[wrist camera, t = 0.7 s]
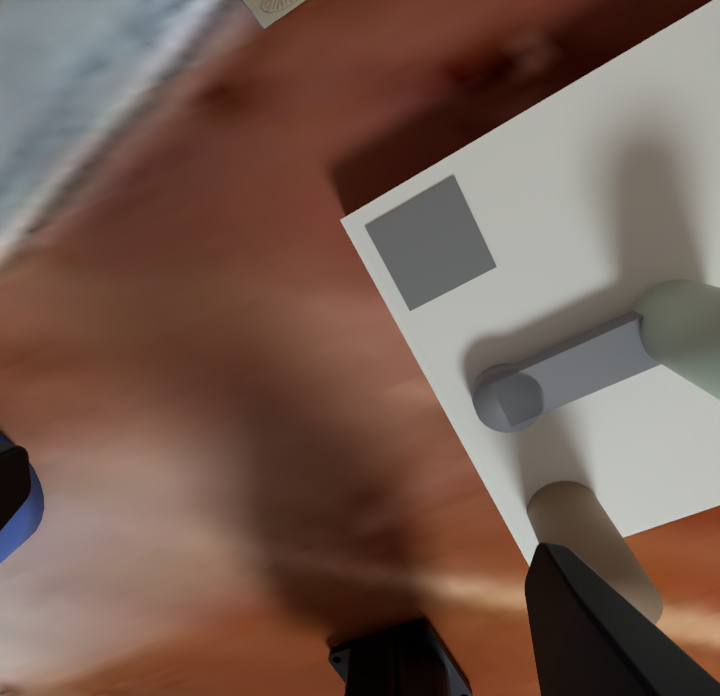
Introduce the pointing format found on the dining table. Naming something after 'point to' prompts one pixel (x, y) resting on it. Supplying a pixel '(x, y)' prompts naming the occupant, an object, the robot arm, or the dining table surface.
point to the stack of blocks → (270, 9)
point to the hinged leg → (610, 356)
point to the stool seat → (571, 291)
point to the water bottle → (22, 517)
